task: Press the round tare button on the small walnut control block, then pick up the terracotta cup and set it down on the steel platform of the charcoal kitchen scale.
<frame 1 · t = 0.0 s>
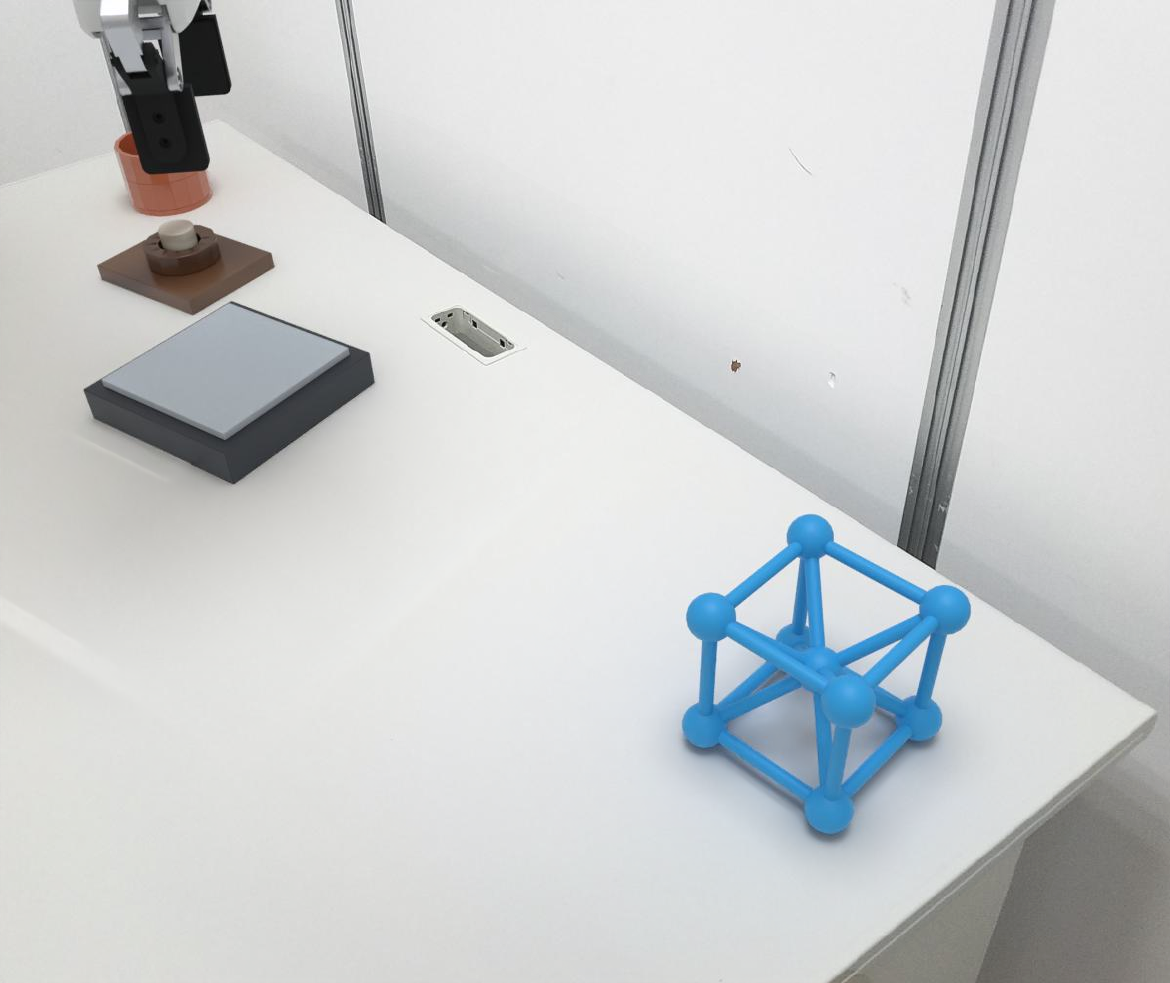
hand: (191, 130, 62), 23 cm above the table, tool pointing down, fingers open, 9 cm apart
terracotta cup: (172, 199, 110), on the table
scale: (236, 400, 86), on the table
tare button: (178, 236, 97), point 3 cm above the table, slide at 0.1 cm
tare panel: (188, 274, 100), on the table
molecular structure: (808, 738, 62), on the table
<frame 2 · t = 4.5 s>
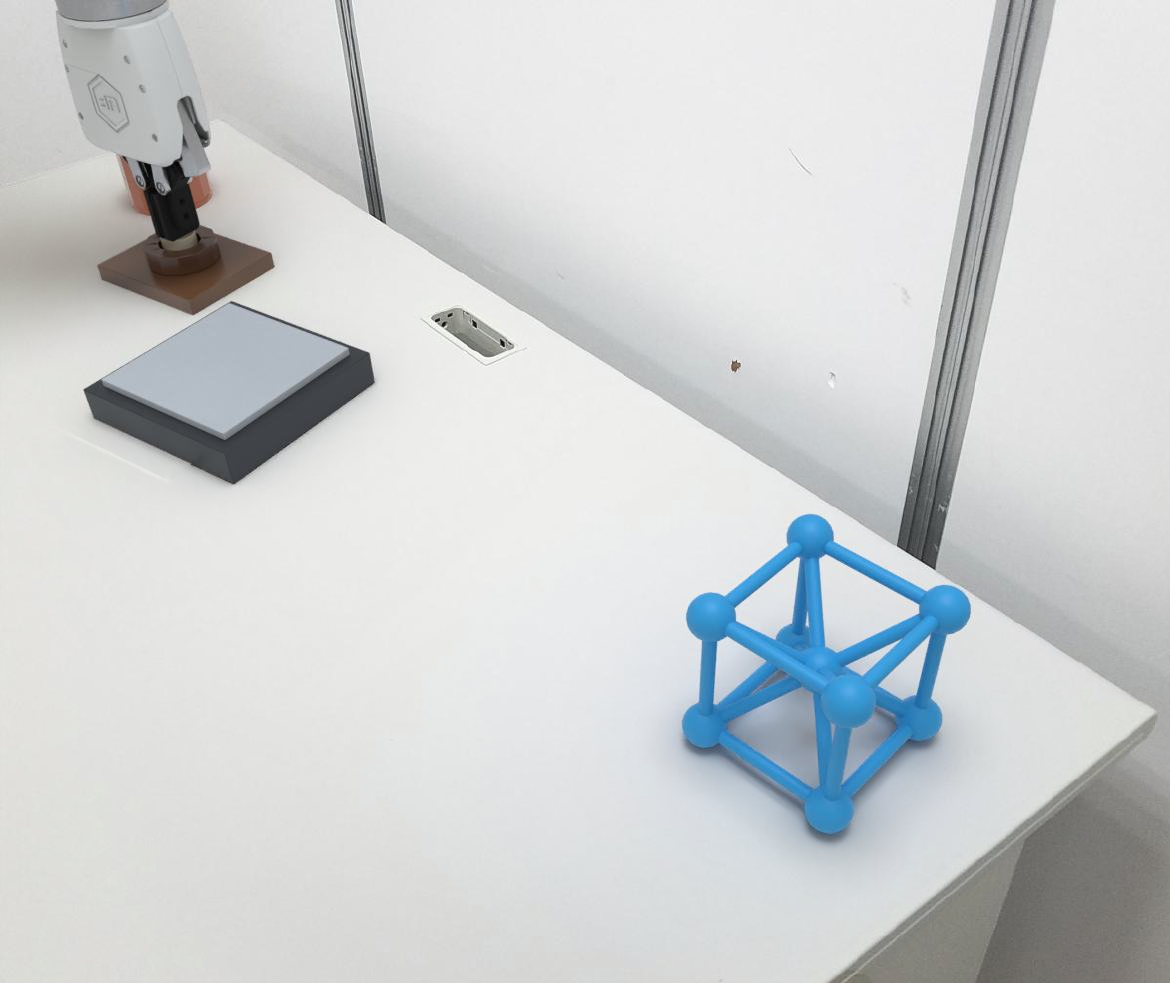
hand: (179, 232, 97), 4 cm above the table, tool pointing down, fingers closed
tare button: (179, 241, 98), point 3 cm above the table, slide at -0.3 cm, touching gripper
everything else where it was.
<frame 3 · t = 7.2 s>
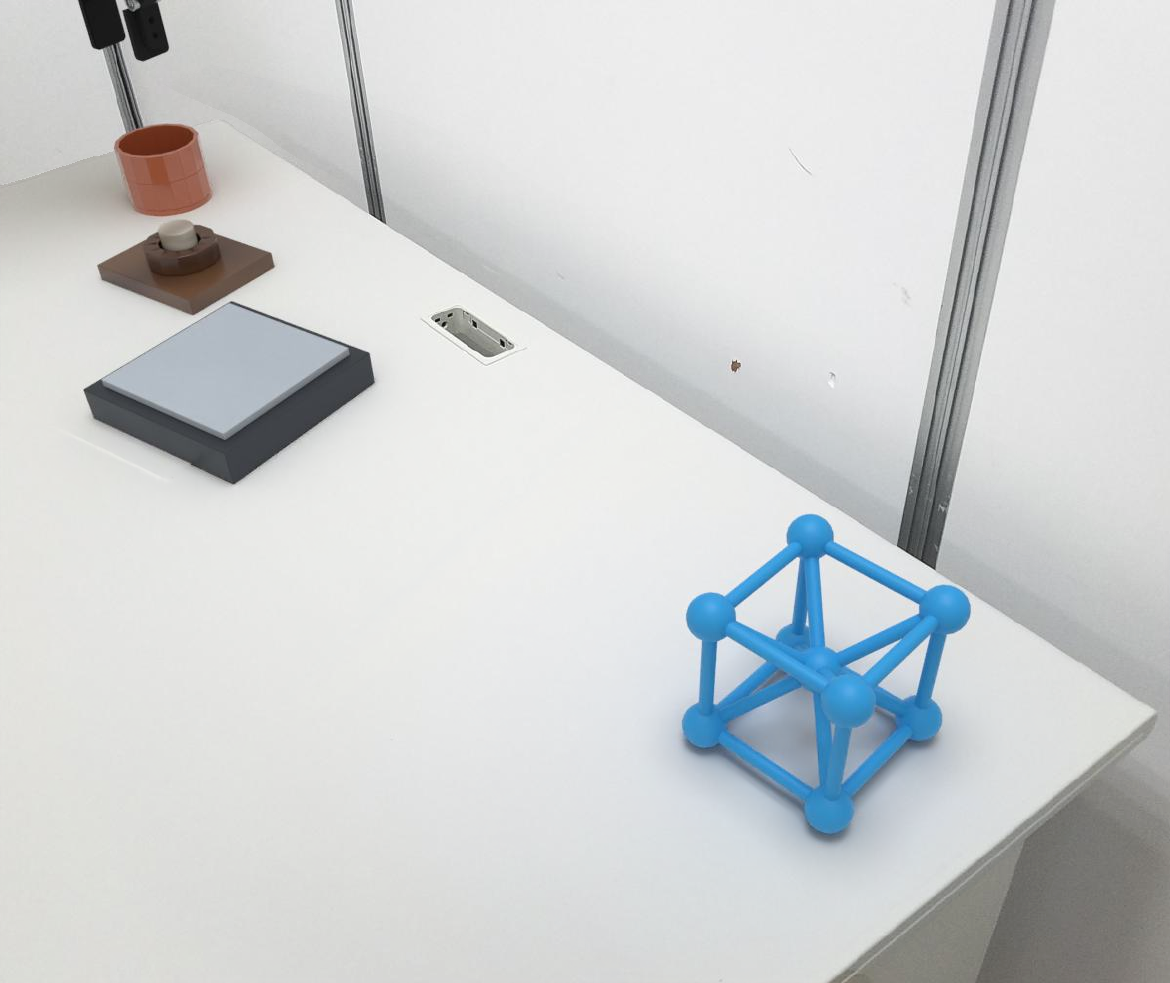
hand: (130, 47, 101), 13 cm above the table, tool pointing down, fingers open, 4 cm apart
tare button: (178, 236, 97), point 3 cm above the table, slide at 0.1 cm
everything else where it was.
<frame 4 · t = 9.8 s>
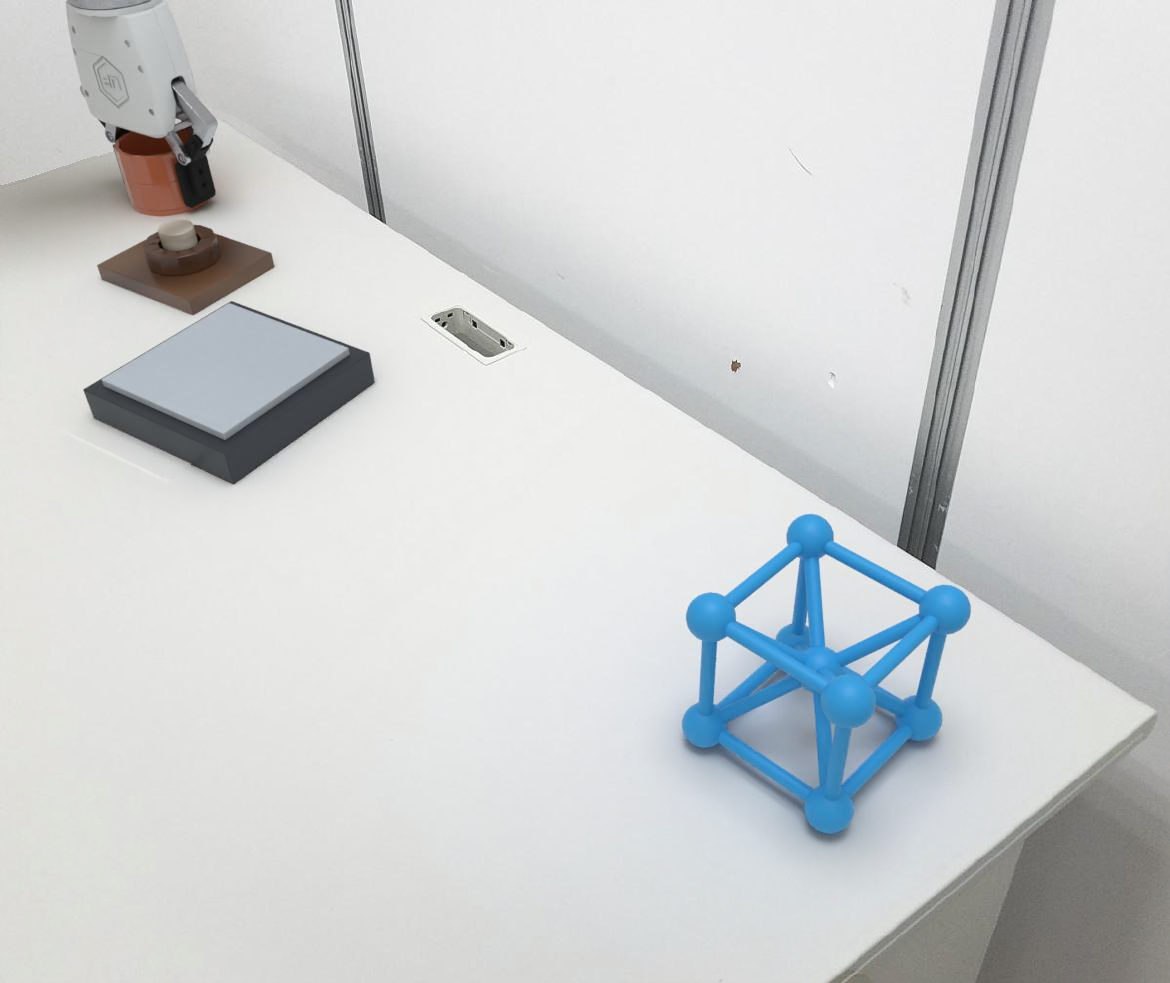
hand: (170, 190, 110), 1 cm above the table, tool pointing down, fingers closed on terracotta cup, 7 cm apart
terracotta cup: (172, 199, 110), on the table, touching gripper
everything else where it was.
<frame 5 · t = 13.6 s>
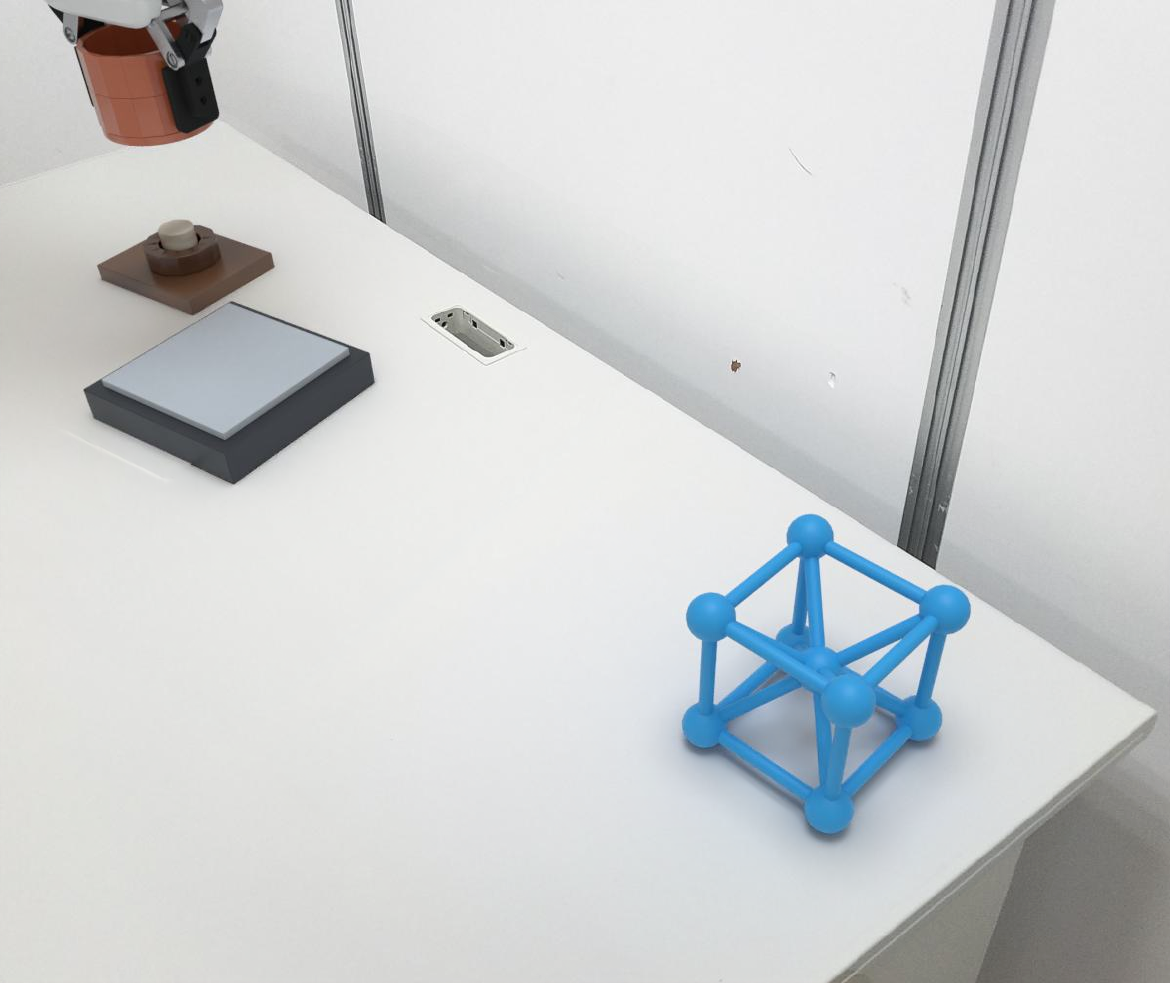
hand: (155, 111, 79), 18 cm above the table, tool pointing down, fingers closed on terracotta cup, 7 cm apart
terracotta cup: (159, 124, 79), point 17 cm above the table, touching gripper
everything else where it was.
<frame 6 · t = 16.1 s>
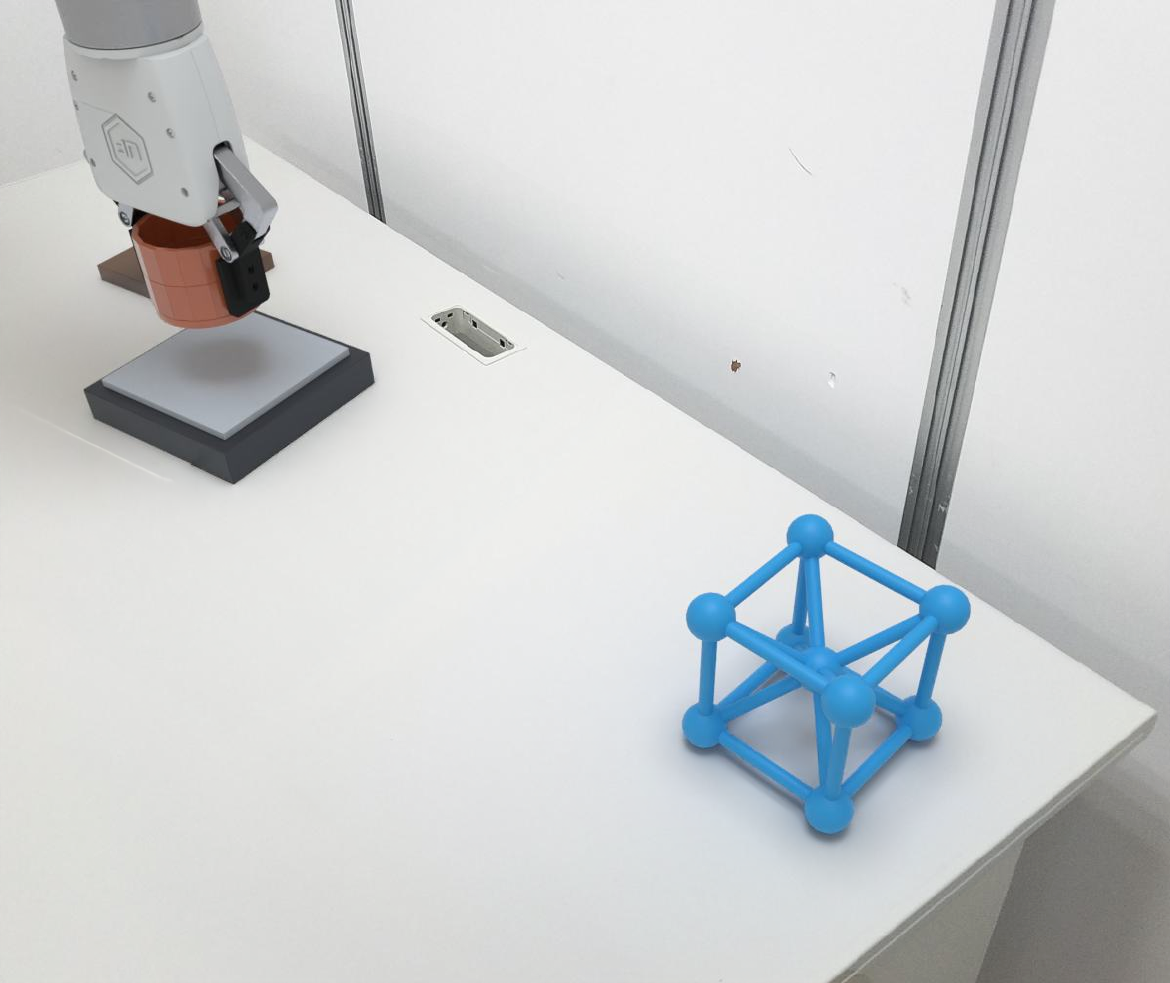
hand: (207, 289, 80), 9 cm above the table, tool pointing down, fingers closed on terracotta cup, 7 cm apart
terracotta cup: (211, 300, 80), point 8 cm above the table, touching gripper
everything else where it was.
when the fingers open (4 cm above the table, at t = 17.9 s): terracotta cup stays where it is, resting on scale.
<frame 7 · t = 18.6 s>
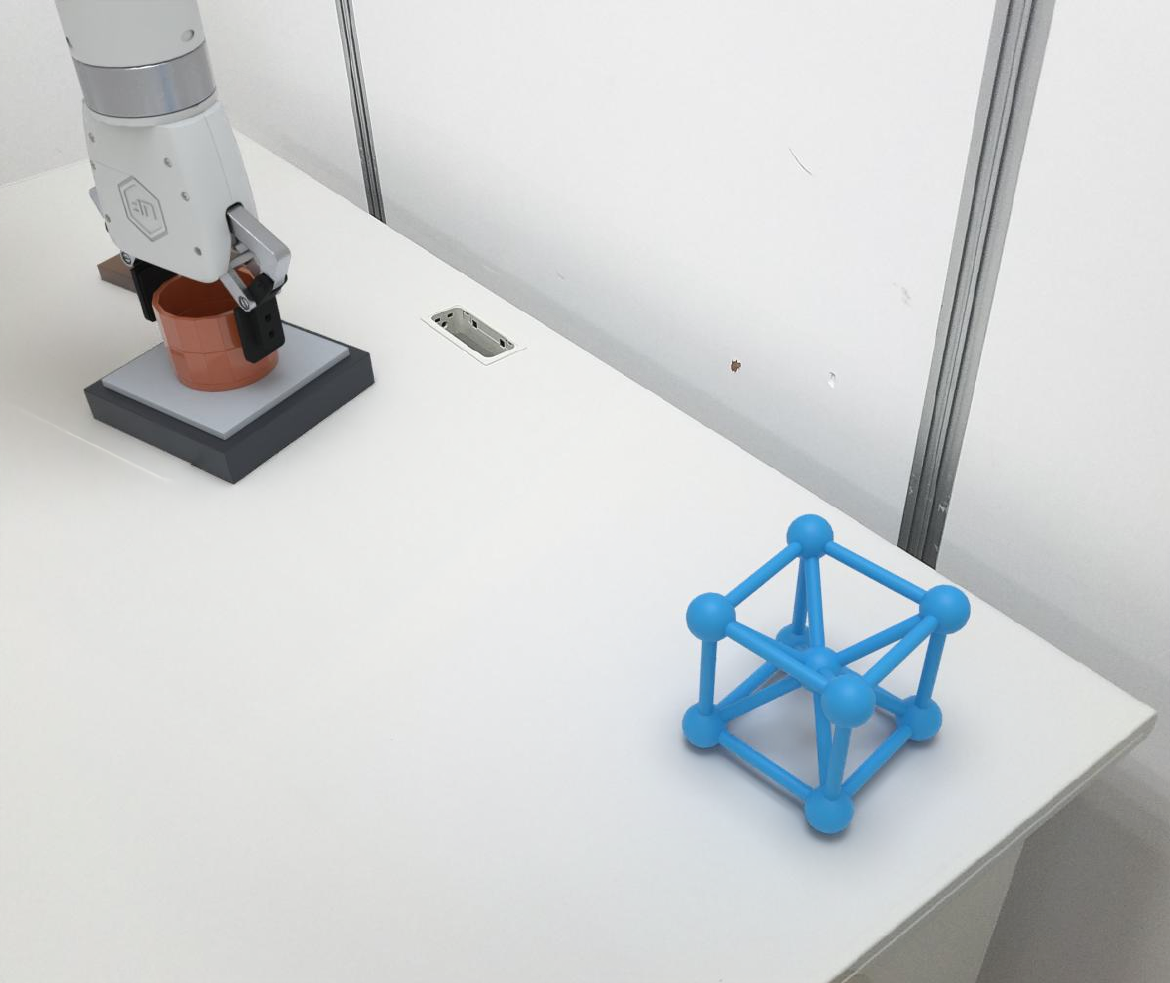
hand: (215, 332, 82), 6 cm above the table, tool pointing down, fingers open, 9 cm apart
terracotta cup: (227, 362, 84), point 3 cm above the table, touching scale
everything else where it was.
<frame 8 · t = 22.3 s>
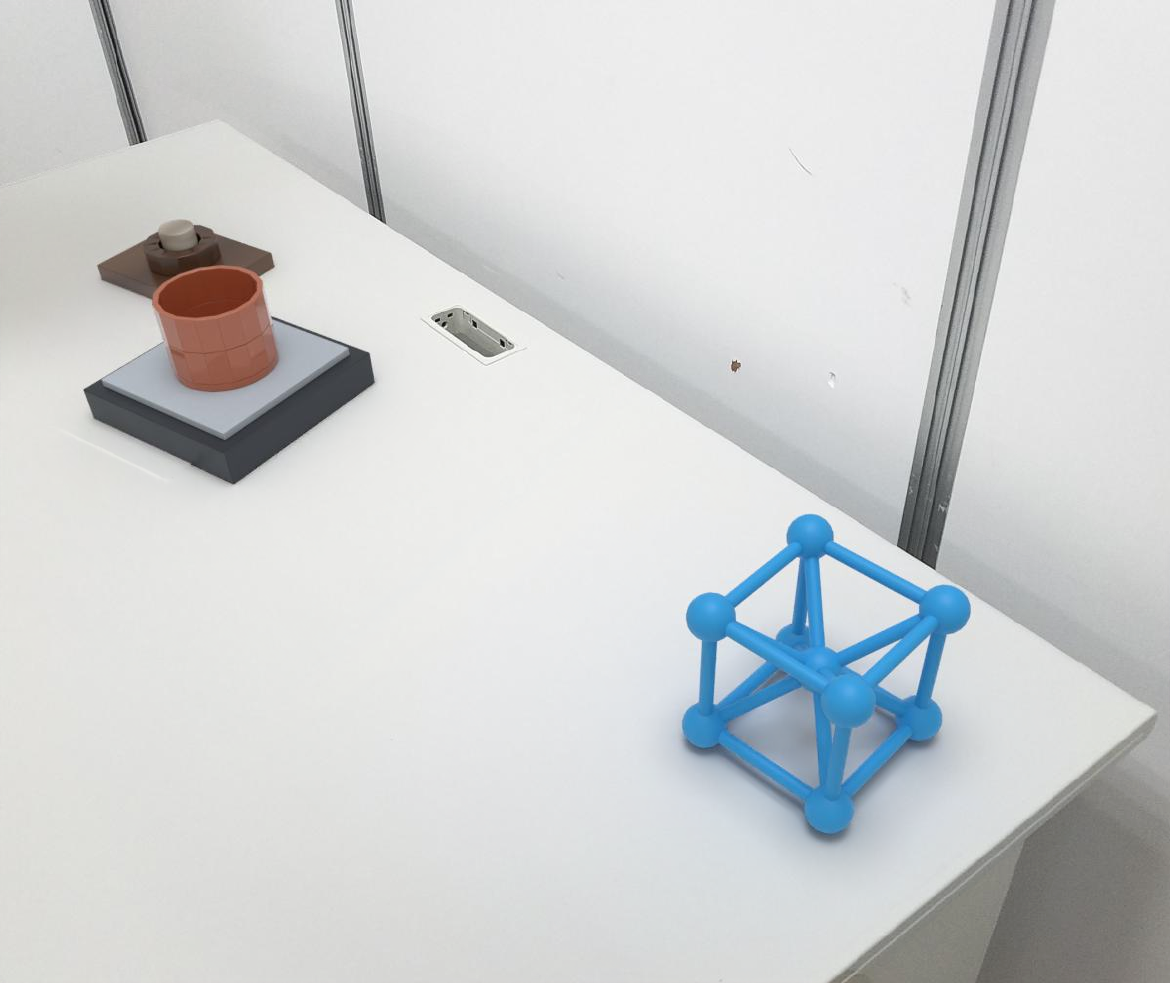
nothing on the table moved.
at the end: tare button pushed in 0.9 cm at the most during the clip, back to where it started at the end; terracotta cup inside the target area on the scale (0.1 cm from its centre), point 3.1 cm above the scale's base; terracotta cup tilted 0° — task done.
